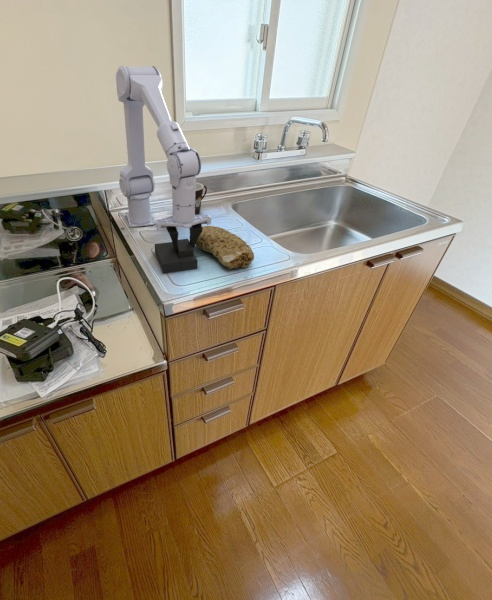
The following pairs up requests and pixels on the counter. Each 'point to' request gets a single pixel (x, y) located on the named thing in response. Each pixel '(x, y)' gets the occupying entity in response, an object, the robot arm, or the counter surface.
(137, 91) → the robot arm
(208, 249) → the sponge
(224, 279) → the counter surface
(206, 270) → the counter surface
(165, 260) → the base pad
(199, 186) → the coffee mug
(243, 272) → the counter surface
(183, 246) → the pad piece
